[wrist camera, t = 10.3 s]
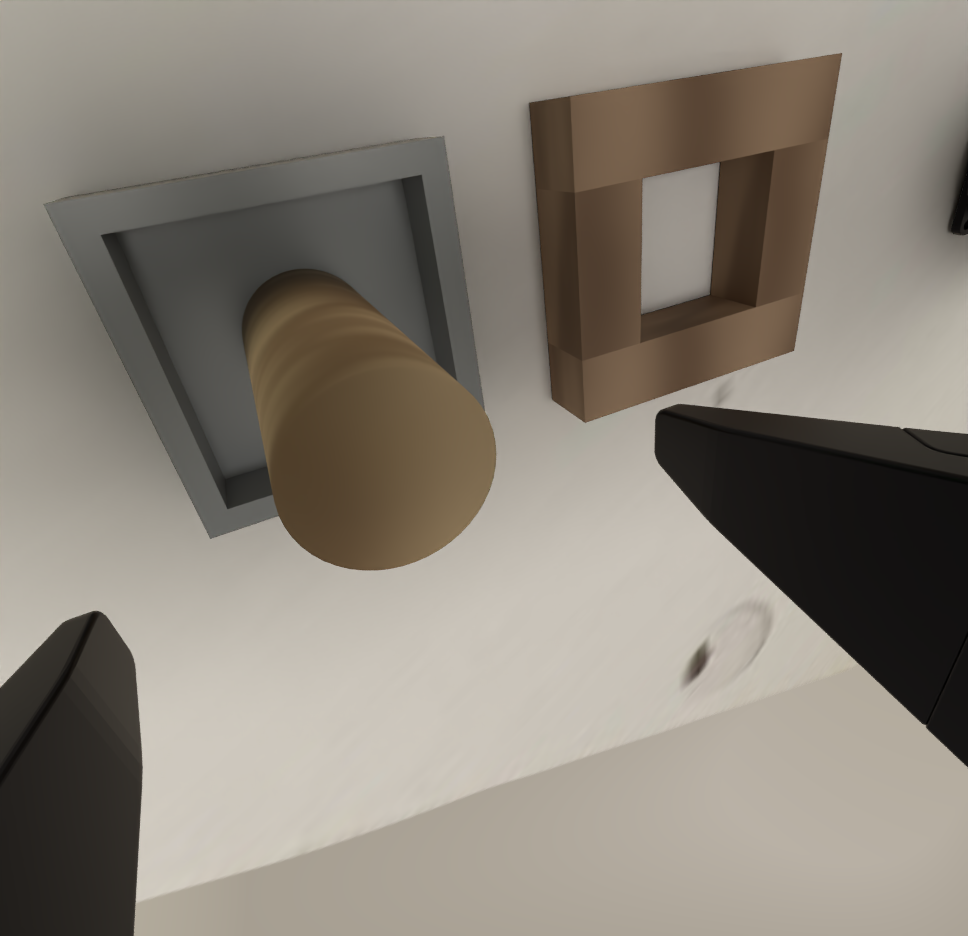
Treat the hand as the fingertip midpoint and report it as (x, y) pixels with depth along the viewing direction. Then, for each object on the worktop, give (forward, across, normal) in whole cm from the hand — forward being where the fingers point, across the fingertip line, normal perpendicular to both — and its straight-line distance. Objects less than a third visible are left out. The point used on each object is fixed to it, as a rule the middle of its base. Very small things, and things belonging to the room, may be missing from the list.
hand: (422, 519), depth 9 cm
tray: (+12, 0, 0) cm, 12 cm away
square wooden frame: (+12, -14, 0) cm, 18 cm away
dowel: (+11, 0, 0) cm, 11 cm away
